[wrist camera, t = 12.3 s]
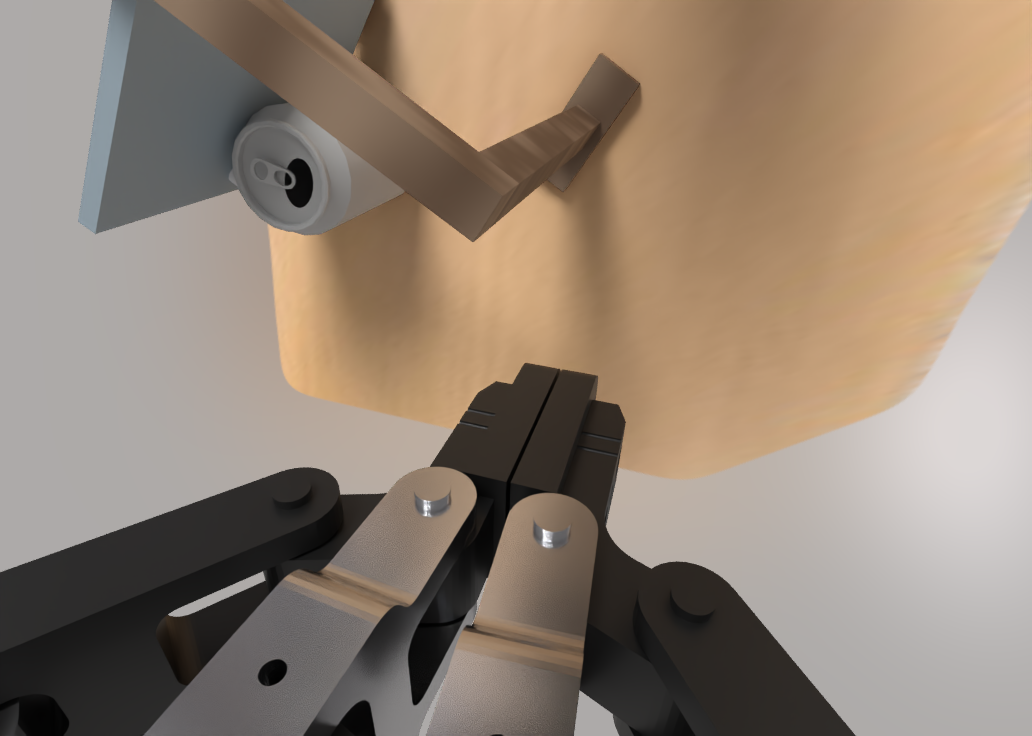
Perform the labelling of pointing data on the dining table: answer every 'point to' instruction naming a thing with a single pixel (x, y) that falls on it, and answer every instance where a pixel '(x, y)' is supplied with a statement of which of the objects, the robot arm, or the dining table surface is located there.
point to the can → (303, 173)
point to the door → (177, 110)
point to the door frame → (407, 113)
